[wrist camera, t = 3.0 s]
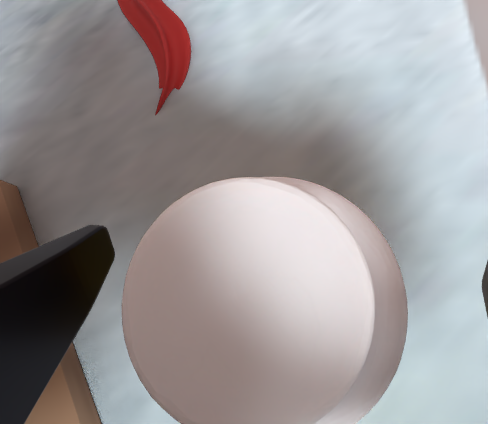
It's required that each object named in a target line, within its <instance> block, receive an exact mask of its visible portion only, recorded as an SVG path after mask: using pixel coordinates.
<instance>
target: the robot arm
mask: <svg viewBox="0 0 488 424" xmlns="http://www.w3.org/2000/svg"><path fill="white" fill-rule="evenodd" d="M114 257H115V251H114V248H113V245H112V242H111V239H110V236H109V233H108V230H107V228H106V227H104V226H100V225H89V226H86V227H84V228H81V229H79V230H77V231H74V232H72V233H70V234H67V235H65V236H63V237H60V238H58V239H56V240H53V241H51V242H49V243H46V244H44V245H42V246H39V247H37V248H35V249H32V250H30V251H28V252H25V253H23V254H21V255H18V256H16V257H14V258H11V259H9V260H7V261H4V262H2V263H0V424H25V422H26V420H27V418H28V417H29V415H30V413H31V412H32V410H33V408H34V406H35V405H36V403H37V401H38V400H39V398H40V396H41V394H42V393H43V391H44V389H45V388H46V386H47V384H48V382H49V381H50V379H51V377H52V376H53V374H54V372H55V370H56V369H57V367H58V365H59V364H60V362H61V360H62V359H63V357H64V355H65V353H66V352H67V350H68V348H69V347H70V345H71V343H72V341H73V340H74V338H75V336H76V335H77V333H78V331H79V329H80V328H81V326H82V324H83V323H84V321H85V319H86V317H87V316H88V314H89V312H90V310H91V308H92V306H93V304H94V302H95V300H96V298H97V296H98V294H99V292H100V289H101V287H102V285H103V283H104V281H105V278H106V276H107V274H108V272H109V270H110V267H111V265H112V263H113V261H114ZM482 292H483V297H484V302H485V307H486V312H487V317H488V261H487V265H486V268H485V272H484V275H483V279H482Z"/></svg>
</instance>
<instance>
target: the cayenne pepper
mask: <svg viewBox="0 0 488 424" xmlns="http://www.w3.org/2000/svg"><path fill="white" fill-rule="evenodd" d="M117 1H118V3H119V6H120V8H121V10H122V12H123V13H124V15H125V17H126V18H127V19H128V21H129V22H130V23H131V24H132V26H133V27H134V28H135V29H136V31H137V32H138V33H139V34H140V36H141V37H142V39H143V40H144V42H145V43H146V45H147V46H148V48H149V50H150V52H151V53H152V55H153V58H154V60H155V63H156V66H157V69H158V75H159V89H160V88H163V90H162V93H161V97H160V100H159V103H158V107H157V110H156V114H157V113H158V112H159V110H160V109H161V107H162V105H163V104H164V102H165V100H166V99H167V97H168V96H169V94H170V93H171V91H172V90H173V89H174V88H176V89H178V90H179V89H180V88H181V86H182V84H183V82H184V80H185V78H186V75H187V72H188V68H189V64H190V58H191V43H190V38H189V34H188V32H187V29H186V27H185V25H184V24H183V22H182V21H181V20H180V18H179V17H178V16H177V15H176V14H175V13H174V12H173V11H172V10H171V9H170V8H168V7H167V6H166V5H165V4H164V2H163V1H162V0H117ZM156 114H155V115H156Z"/></svg>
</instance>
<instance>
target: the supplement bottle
mask: <svg viewBox="0 0 488 424" xmlns="http://www.w3.org/2000/svg"><path fill="white" fill-rule="evenodd" d="M407 320H408V309H407V297H406V291H405V286H404V281H403V277H402V274H401V271H400V268H399V265H398V263H397V261H396V258H395V255H394V253H393V251H392V249H391V247H390V246H389V244H388V242H387V241H386V239H385V238H384V236H383V235H382V233H381V232H380V230H379V229H378V228H377V227H376V225H375V224H374V223H373V222H372V221H371V220H370V219H369V217H368V216H367V215H366V214H364V213H363V212H362V211H361V210H360V209H359V208H358V207H357V206H355V205H354V204H353V203H351V202H350V201H349V200H347V199H346V198H344V197H343V196H341V195H339V194H338V193H336V192H334V191H332V190H330V189H328V188H326V187H324V186H321V185H318V184H316V183H312V182H309V181H305V180H301V179H295V178H288V177H239V178H229V179H225V180H220V181H216V182H212V183H209V184H207V185H204V186H202V187H200V188H197V189H195V190H193V191H191V192H190V193H188V194H186V195H184V196H183V197H181V198H180V199H178V200H177V201H176V202H174V203H173V204H171V205H170V206H169V207H168V208H167V209H166V210H165V211H164V212H163V213H162V214H161V215H160V216H159V217H158V218H157V219H156V220H155V221H154V222H153V224H152V225H151V226H150V228H149V229H148V230H147V232H146V233H145V235H144V236H143V237H142V239H141V241H140V243H139V245H138V247H137V249H136V251H135V253H134V255H133V257H132V260H131V262H130V265H129V268H128V271H127V274H126V279H125V284H124V290H123V299H122V325H123V332H124V338H125V343H126V346H127V350H128V354H129V357H130V359H131V362H132V364H133V366H134V369H135V371H136V373H137V375H138V377H139V379H140V381H141V382H142V384H143V385H144V387H145V388H146V390H147V391H148V393H149V394H150V396H151V397H152V398H153V399H154V400H155V401H156V402H157V403H158V404H159V405H160V406H161V407H162V408H163V409H164V410H165V411H166V412H167V413H168V414H170V415H171V416H172V417H173V418H174V419H175V420H177V421H178V422H180V423H181V424H356V423H357V422H358V421H359V420H361V419H362V418H363V417H364V416H365V415H366V414H367V413H368V412H369V411H370V410H371V409H372V408H373V407H374V406H375V405H376V404H377V402H378V401H379V400H380V398H381V397H382V395H383V394H384V392H385V391H386V390H387V388H388V386H389V384H390V383H391V381H392V379H393V377H394V375H395V373H396V371H397V368H398V366H399V363H400V360H401V357H402V353H403V349H404V345H405V340H406V333H407Z"/></svg>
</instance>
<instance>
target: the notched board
mask: <svg viewBox="0 0 488 424" xmlns="http://www.w3.org/2000/svg"><path fill="white" fill-rule="evenodd" d="M37 247H38V244H37V241H36V238H35V235H34V233H33V230H32V227H31V224H30V221H29V219H28V216H27V213H26V210H25V207H24V204H23V202H22V199H21V196H20V193H19V190H18V188H17V186H14V185H12V184H9V183H7V182H4V181H2V180H0V263H2V262H4V261H7V260H9V259H11V258H14V257H16V256H18V255H21V254H23V253H25V252H28V251H30V250H32V249H35V248H37ZM25 424H101V422H100V419H99V416H98V413H97V410H96V407H95V405H94V402H93V399H92V396H91V393H90V391H89V388H88V385H87V382H86V379H85V376H84V374H83V371H82V368H81V365H80V362H79V360H78V357H77V354H76V351H75V348H74V345H73V343H71V345H70V347H69V348H68V350H67V352H66V353H65V355H64V357H63V359H62V360H61V362H60V364H59V365H58V367H57V369H56V370H55V372H54V374H53V376H52V377H51V379H50V381H49V382H48V384H47V386H46V388H45V389H44V391H43V393H42V394H41V396H40V398H39V400H38V401H37V403H36V405H35V406H34V408H33V410H32V412H31V413H30V415H29V417H28V418H27V420H26V422H25Z"/></svg>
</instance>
